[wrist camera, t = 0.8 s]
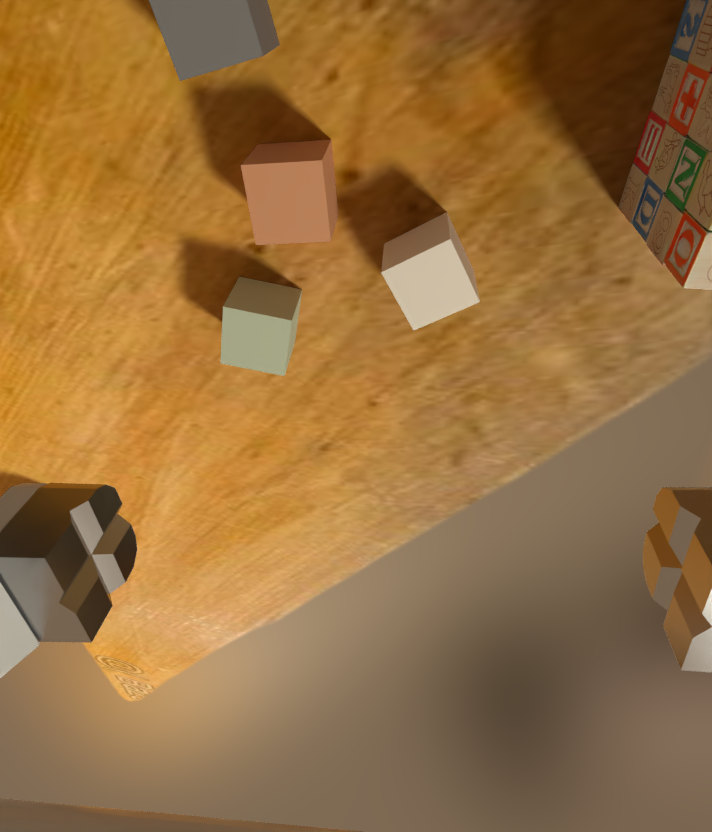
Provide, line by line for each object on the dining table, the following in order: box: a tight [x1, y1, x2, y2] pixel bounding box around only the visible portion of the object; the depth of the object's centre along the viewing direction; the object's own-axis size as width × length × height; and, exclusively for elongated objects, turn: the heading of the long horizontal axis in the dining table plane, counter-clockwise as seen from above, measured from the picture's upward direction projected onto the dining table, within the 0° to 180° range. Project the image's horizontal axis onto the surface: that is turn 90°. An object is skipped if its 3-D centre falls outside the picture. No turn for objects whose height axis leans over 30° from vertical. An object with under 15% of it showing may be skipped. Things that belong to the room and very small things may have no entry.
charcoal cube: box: [149, 0, 280, 81], centre depth 32 cm, size 5×5×5 cm
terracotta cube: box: [241, 139, 339, 245], centre depth 38 cm, size 5×5×5 cm
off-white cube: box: [381, 212, 480, 330], centre depth 40 cm, size 5×5×5 cm
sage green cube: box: [221, 277, 302, 376], centre depth 44 cm, size 5×5×5 cm
